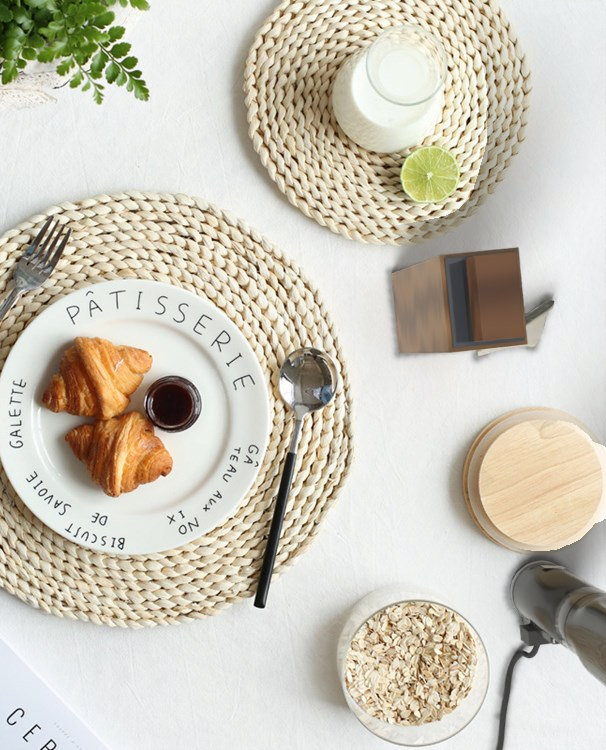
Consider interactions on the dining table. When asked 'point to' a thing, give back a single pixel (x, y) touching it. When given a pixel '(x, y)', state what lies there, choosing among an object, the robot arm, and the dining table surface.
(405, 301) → the stand
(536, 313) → the ceramic fragment
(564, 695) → the dining table surface
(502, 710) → the robot arm
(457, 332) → the pad
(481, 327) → the brown wooden block
